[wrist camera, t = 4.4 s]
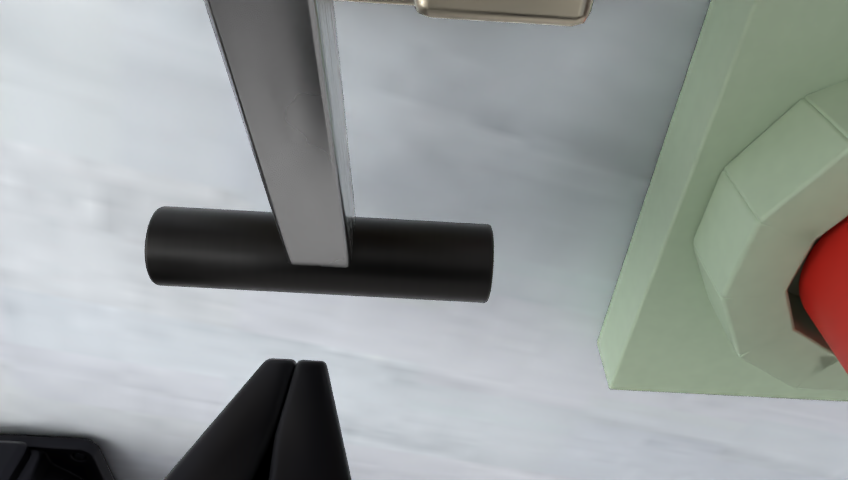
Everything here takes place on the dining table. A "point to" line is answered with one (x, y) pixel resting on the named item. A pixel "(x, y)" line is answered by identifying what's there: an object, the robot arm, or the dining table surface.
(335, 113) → the switch lever
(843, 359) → the red push button
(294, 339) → the dining table surface
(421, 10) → the switch bracket
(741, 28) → the button box
